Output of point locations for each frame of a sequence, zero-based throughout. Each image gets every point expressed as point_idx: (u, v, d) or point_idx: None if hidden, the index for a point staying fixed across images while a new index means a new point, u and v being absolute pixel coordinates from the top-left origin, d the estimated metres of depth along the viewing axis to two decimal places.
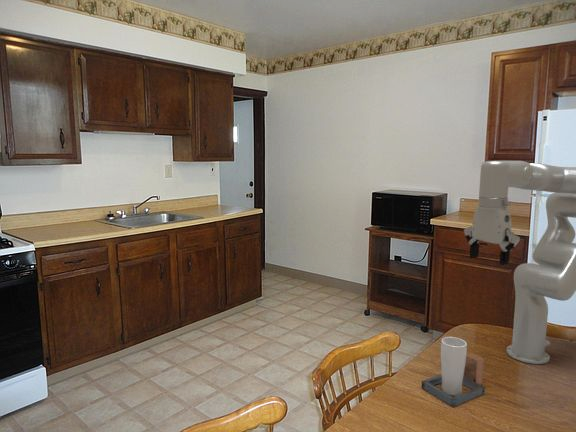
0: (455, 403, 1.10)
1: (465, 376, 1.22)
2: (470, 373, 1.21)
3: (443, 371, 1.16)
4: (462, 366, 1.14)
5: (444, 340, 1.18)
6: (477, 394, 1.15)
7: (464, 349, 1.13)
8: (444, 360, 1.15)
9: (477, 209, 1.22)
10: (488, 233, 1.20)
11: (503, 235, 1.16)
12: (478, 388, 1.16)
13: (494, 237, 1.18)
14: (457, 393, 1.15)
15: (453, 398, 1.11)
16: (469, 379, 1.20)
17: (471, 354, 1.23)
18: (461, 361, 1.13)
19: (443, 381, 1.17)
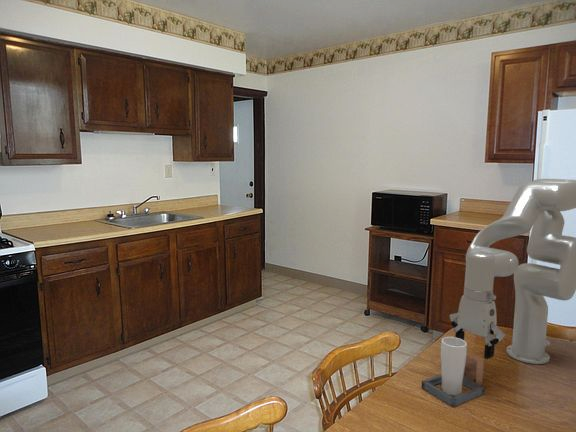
0: (455, 403, 1.10)
1: (465, 376, 1.22)
2: (470, 373, 1.21)
3: (443, 371, 1.16)
4: (462, 366, 1.14)
5: (444, 340, 1.18)
6: (477, 394, 1.15)
7: (464, 349, 1.13)
8: (444, 360, 1.15)
9: (462, 298, 1.21)
10: (473, 325, 1.18)
11: (488, 329, 1.15)
12: (478, 388, 1.16)
13: (479, 330, 1.16)
14: (457, 393, 1.15)
15: (453, 398, 1.11)
16: (469, 379, 1.20)
17: (471, 354, 1.23)
18: (461, 361, 1.13)
19: (443, 381, 1.17)
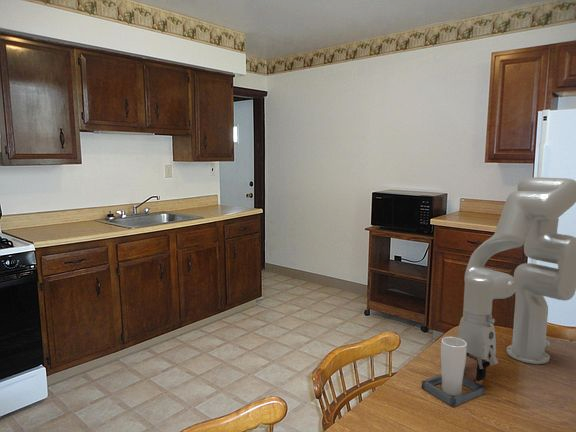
0: (455, 403, 1.10)
1: (465, 376, 1.22)
2: (470, 373, 1.21)
3: (443, 371, 1.16)
4: (462, 366, 1.14)
5: (444, 340, 1.18)
6: (477, 394, 1.15)
7: (464, 349, 1.13)
8: (444, 360, 1.15)
9: (462, 320, 1.22)
10: (473, 347, 1.19)
11: None
12: (478, 388, 1.16)
13: (478, 353, 1.17)
14: (457, 393, 1.15)
15: (453, 398, 1.11)
16: (469, 379, 1.20)
17: None
18: (461, 361, 1.13)
19: (443, 381, 1.17)
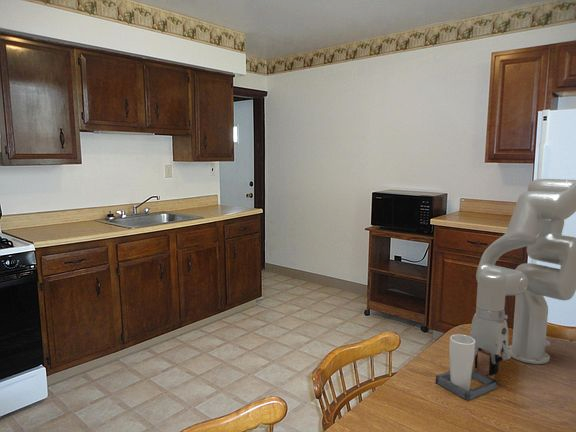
0: (469, 396, 1.13)
1: (478, 371, 1.25)
2: (483, 368, 1.24)
3: (451, 368, 1.18)
4: (470, 363, 1.15)
5: (453, 337, 1.20)
6: (490, 389, 1.18)
7: (472, 346, 1.15)
8: (452, 357, 1.17)
9: (475, 317, 1.25)
10: (486, 343, 1.22)
11: None
12: (491, 383, 1.18)
13: (491, 348, 1.20)
14: None
15: (467, 392, 1.13)
16: (482, 374, 1.23)
17: (483, 350, 1.26)
18: (469, 358, 1.15)
19: (451, 378, 1.18)
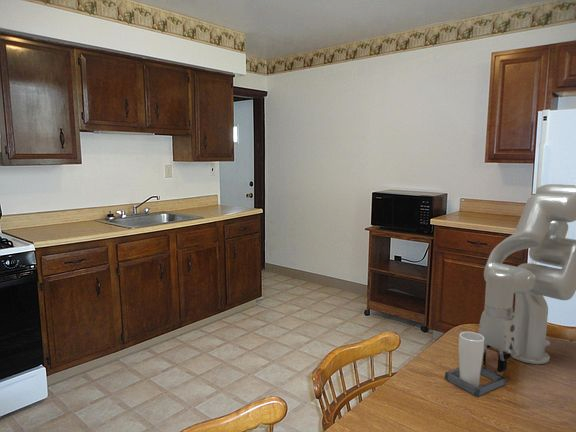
0: (478, 392, 1.15)
1: (486, 368, 1.27)
2: (491, 365, 1.26)
3: (461, 364, 1.20)
4: (480, 360, 1.17)
5: (462, 335, 1.22)
6: (499, 385, 1.20)
7: (482, 343, 1.17)
8: (462, 354, 1.19)
9: (483, 314, 1.27)
10: (494, 340, 1.24)
11: None
12: (500, 379, 1.20)
13: (500, 345, 1.22)
14: (475, 386, 1.19)
15: (477, 388, 1.15)
16: (490, 371, 1.25)
17: (492, 347, 1.28)
18: (479, 355, 1.17)
19: (461, 374, 1.20)
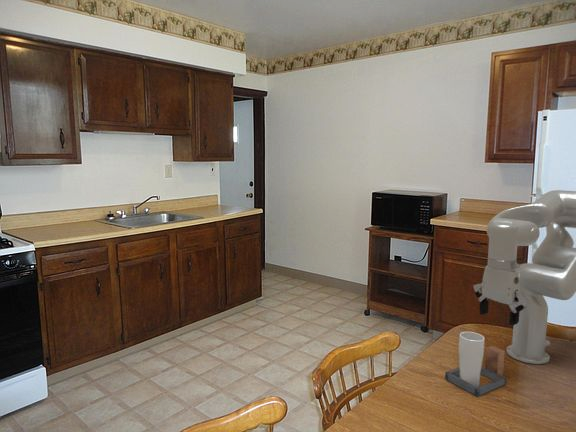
0: (479, 392, 1.15)
1: (486, 368, 1.27)
2: (491, 365, 1.26)
3: (461, 364, 1.20)
4: (480, 360, 1.17)
5: (462, 335, 1.22)
6: (499, 385, 1.20)
7: (482, 343, 1.17)
8: (462, 354, 1.19)
9: (486, 268, 1.25)
10: (498, 293, 1.22)
11: (513, 297, 1.19)
12: (500, 379, 1.20)
13: (504, 298, 1.21)
14: (475, 386, 1.19)
15: (477, 388, 1.15)
16: (490, 370, 1.25)
17: (492, 347, 1.28)
18: (479, 355, 1.17)
19: (461, 374, 1.20)
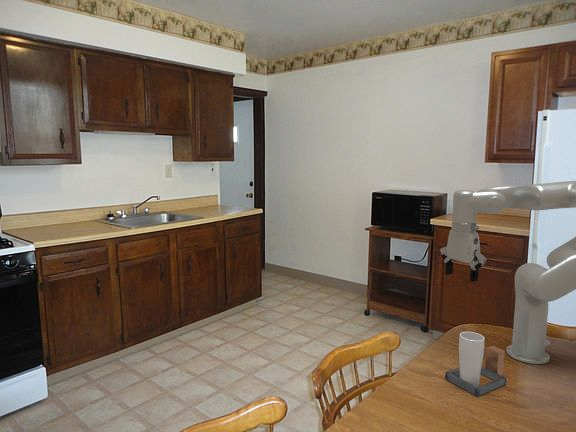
0: (479, 392, 1.15)
1: (486, 368, 1.27)
2: (491, 365, 1.26)
3: (461, 364, 1.20)
4: (480, 360, 1.17)
5: (462, 335, 1.22)
6: (499, 385, 1.20)
7: (482, 343, 1.17)
8: (462, 354, 1.19)
9: (450, 232, 1.39)
10: (460, 254, 1.36)
11: (472, 256, 1.33)
12: (500, 379, 1.20)
13: (465, 257, 1.35)
14: (475, 386, 1.19)
15: (477, 388, 1.15)
16: (490, 370, 1.25)
17: (492, 347, 1.28)
18: (479, 355, 1.17)
19: (461, 374, 1.20)
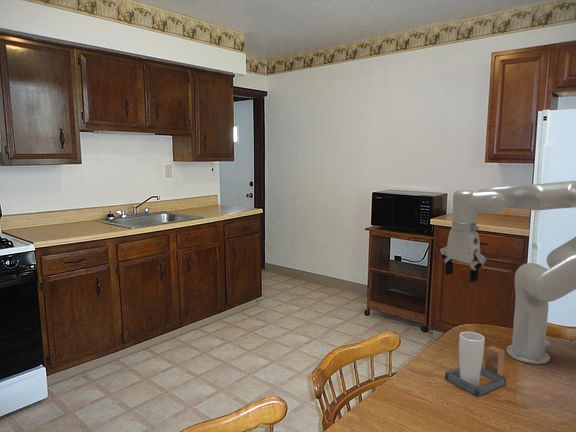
0: (479, 392, 1.15)
1: (486, 368, 1.27)
2: (491, 365, 1.26)
3: (461, 364, 1.20)
4: (480, 360, 1.17)
5: (462, 335, 1.22)
6: (499, 385, 1.20)
7: (482, 343, 1.17)
8: (462, 354, 1.19)
9: (450, 232, 1.39)
10: (460, 254, 1.36)
11: (472, 256, 1.33)
12: (500, 379, 1.20)
13: (465, 257, 1.35)
14: (475, 386, 1.19)
15: (477, 388, 1.15)
16: (490, 370, 1.25)
17: (492, 347, 1.28)
18: (479, 355, 1.17)
19: (461, 374, 1.20)
